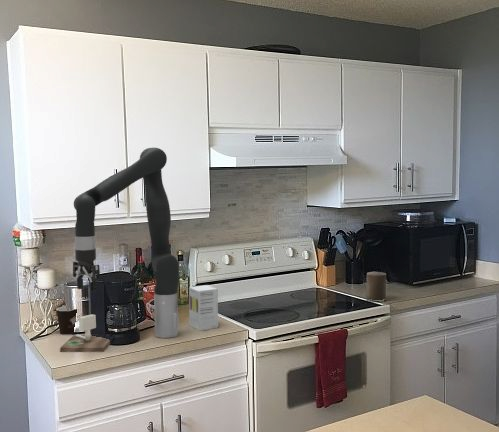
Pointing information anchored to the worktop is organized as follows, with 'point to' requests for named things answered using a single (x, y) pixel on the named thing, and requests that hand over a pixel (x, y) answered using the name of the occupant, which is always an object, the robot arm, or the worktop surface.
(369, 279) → the pillar candle
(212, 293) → the supplement box
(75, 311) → the coffee mug
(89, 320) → the tuning peg
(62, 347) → the dial plate
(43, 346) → the worktop surface
